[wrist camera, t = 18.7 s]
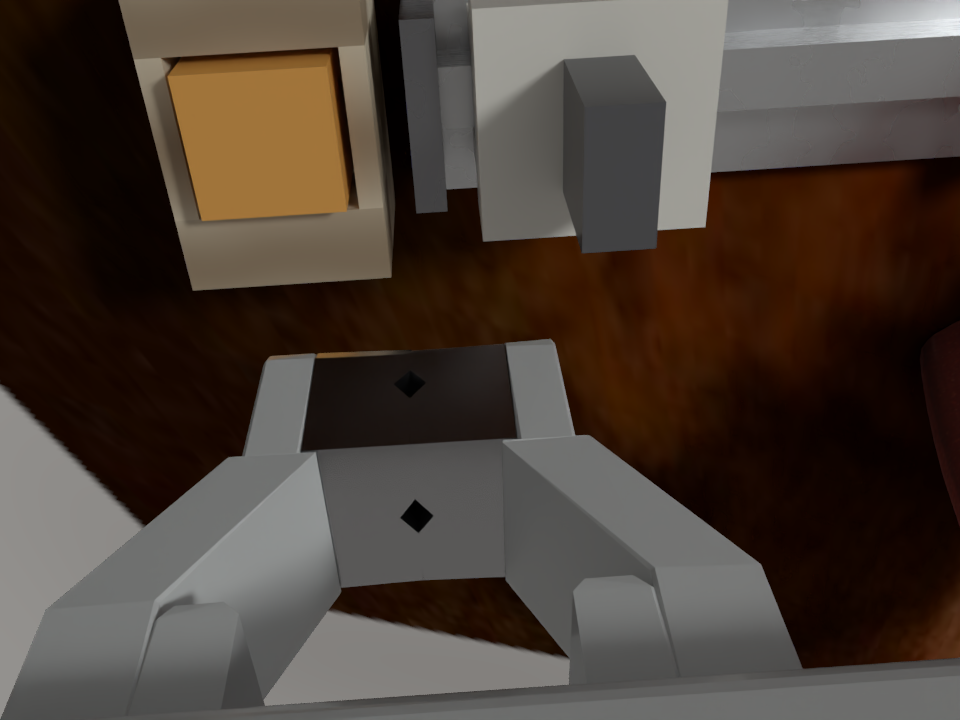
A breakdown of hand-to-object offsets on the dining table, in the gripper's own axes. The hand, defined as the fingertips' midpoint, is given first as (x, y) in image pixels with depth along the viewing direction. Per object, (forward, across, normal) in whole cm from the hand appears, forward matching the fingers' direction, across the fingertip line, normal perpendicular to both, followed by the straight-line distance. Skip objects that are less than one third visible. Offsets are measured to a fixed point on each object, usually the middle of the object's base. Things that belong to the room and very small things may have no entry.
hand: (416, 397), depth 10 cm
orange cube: (+21, +5, +4) cm, 22 cm away
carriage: (+23, -5, +4) cm, 24 cm away
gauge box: (+24, +5, +4) cm, 25 cm away
